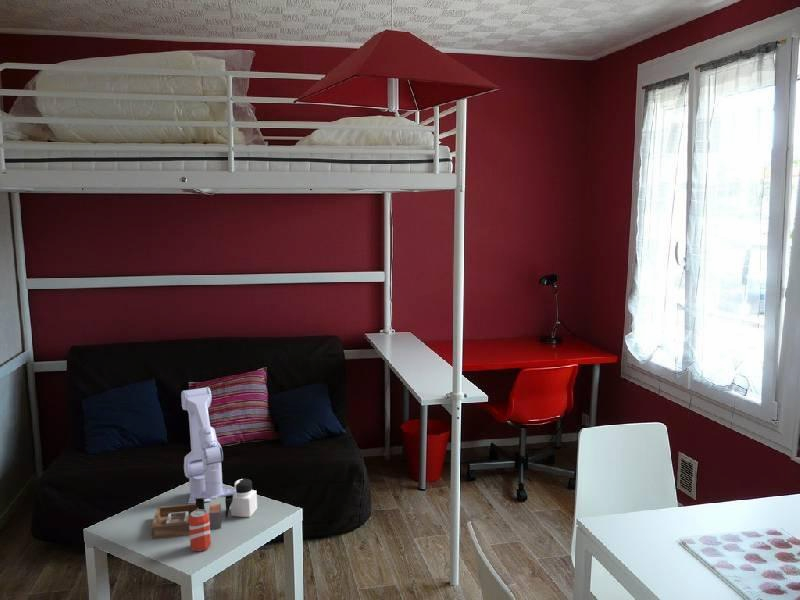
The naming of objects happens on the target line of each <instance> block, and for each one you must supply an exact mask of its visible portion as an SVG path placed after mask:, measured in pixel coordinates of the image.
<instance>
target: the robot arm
mask: <svg viewBox="0 0 800 600" xmlns="http://www.w3.org/2000/svg"><path fill="white" fill-rule="evenodd" d="M180 398H181V407H182V410H183V411H187V413H188V422H189V436H190V438H189V439H190V449H191V451H190V452H189V453H187V454H186V455H185V456H184V459H183V461H184V462H183V470H184V476H185V477H186V478H187V479H189V480H188V481H189V494H190V495H189V497H188V498H189V499H188V504H194V503H196V506H197V507H198V509H203V510H206V508H205V503H208V502H210V503H211V501H212V500H217V499H218V498H225V499H224V500H225V518H229V512H230V509H231V503H232V501H233V497H236V489H235V488H233V489H230V488H229V489H228V488H223V472H222V471H223V469H222V462H224V452H223V448H222V446H221V444H220V442H218V437H217V433H216V430H215V428H214V427H213V426H211V423H210V416H209V414H210V413H209V408H210V406H211V404H212V402H213V401H212V400H213V399H212V391H211V388H210V387H209V386H205V387H201V388H194V389H186V390H182V391H181V395H180Z"/></svg>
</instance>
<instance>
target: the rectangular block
mask: <svg viewBox="0 0 800 600" xmlns="http://www.w3.org/2000/svg"><path fill="white" fill-rule="evenodd" d="M208 515H209V520H210V531H211V530H218V529H220V528H221V529H222V524H223V523H222V503H221V502H216V503H210V504H209V513H208Z"/></svg>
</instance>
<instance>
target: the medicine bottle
mask: <svg viewBox="0 0 800 600" xmlns="http://www.w3.org/2000/svg"><path fill="white" fill-rule="evenodd" d="M234 489H236V497H233V501H232V503H231V506H230V512H231V517H241V518H251V517H252V515H253V514H255V512H256V510H257V509H258V495H257V490H254V489H253V481H252V480H251V479H249V478H241V479H238V480H236V481H234Z"/></svg>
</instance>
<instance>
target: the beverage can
mask: <svg viewBox="0 0 800 600" xmlns="http://www.w3.org/2000/svg"><path fill="white" fill-rule="evenodd" d="M190 515H191V516H190V518H189V530H190V535H189V542H190V544H189V545H190V549H191V550H192V551H195V552H203V551H205V550H207V549H208V548H210V547H211V544H212V540H211V530H210V514H209V513H208V511H207V510H206V509H205V510H203V509H199V510H195V511H193V512H191V514H190ZM202 550H203V551H202Z"/></svg>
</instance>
